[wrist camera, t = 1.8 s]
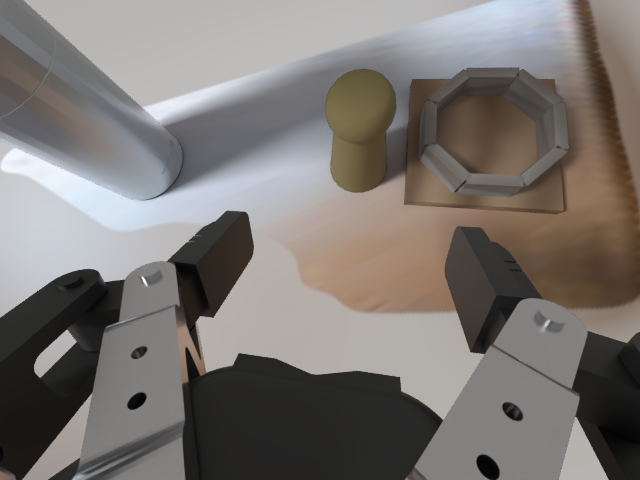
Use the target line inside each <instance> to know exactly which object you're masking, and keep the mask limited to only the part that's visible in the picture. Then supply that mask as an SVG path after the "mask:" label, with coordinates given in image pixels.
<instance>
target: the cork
mask: <svg viewBox="0 0 640 480" xmlns="http://www.w3.org/2000/svg"><path fill="white" fill-rule="evenodd" d="M395 111H396V96H395V92H394V89H393V87H392V85H391V84H390V82H389V81H388V80H387V79H386V78H385V77H384V76H383V75H382V74H380V73H378V72H376V71H373V70H368V69H358V70H353V71H351V72H348V73H346V74H344V75H343V76H341V77H340V78H339V79H338V80H337V81H336V82H335V84H334V85H333V86H332V87H331V89H330V91H329V93H328V96H327V99H326V118H327V121H328V123H329V126H330V128H331V129H332V131H333V132H334V133H333V144H332V154H331V174H332V177H333V179H334V181H335V182H336V183H337V185H338V186H340V187H341V188H343V189H344V190H347V191H350V192H354V193H355V192H365V191H368V190H371V189H373V188H374V187H376V186H377V185H379V183H380V182H381V181H382V179H383V178H384V176H385V173H386V170H387V164H386V130H387V129H388V128H389V126H390V125H391V123H392V121H393V118H394V115H395Z"/></svg>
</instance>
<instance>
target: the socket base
mask: <svg viewBox="0 0 640 480" xmlns="http://www.w3.org/2000/svg"><path fill="white" fill-rule="evenodd" d="M562 100H563V99H562V98H561V97H560V96H558V95H557V94H556V92H555V79H536V78H534V77H533V76H532V75H530V74H529V73H528V72H526V71H525V70H524V69H522V70H521V71H520V72H519V68H467V70H464V69H463V70H462V71H461V72H460V73H458V74H457V75H456V76H455V77H453V78H452V79H412V82H411V86H410V102H409V121H408V140H407V160H406V179H405V199H404V204H405V205H421V206H437V207H453V208H469V209H485V210H501V211H517V212H533V213H548V214H557V213H559V212H562V211H564V205H563V191H562V177H561V163H560V158H561V157H563V156H564V155H565V154H566V153H567V150H568V149H569V142H568V129H567V116H566V103H565V102H561V101H562Z"/></svg>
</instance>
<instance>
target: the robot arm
mask: <svg viewBox="0 0 640 480" xmlns="http://www.w3.org/2000/svg"><path fill="white" fill-rule="evenodd" d="M0 141H2V142H4V143H6V144H9V145H11V146H13V147H15V148H17V149H20V150H22V151H24V152H26V153H29V154H31V155H33V156H35V157H37V158H40V159H42V160H44V161H46V162H49V163H51V164H53V165H55V166H58V167H60V168H62V169H64V170H66V171H69V172H71V173H73V174H75V175H78V176H80V177H82V178H84V179H86V180H89V181H91V182H93V183H95V184H97V185H99V186H102V187H104V188H106V189H108V190H111V191H113V192H115V193H117V194H120V195H122V196H124V197H126V198H129V199H132V200H146V199H150V198H153V197H156V196H158V195H159V194H161V193H163V192H164V191H165V190H167V189H168V188H169V187H170V186H171V185H172V183H173V182H174V181H175V180H176V178H177V176H178V174H179V172H180V169H181V166H182V159H183V156H182V149H181V146H180V144H179V142H178V141H177V139H176V138H175V137H174V136H173V135H172V134H170V133H169V132H168V131H167V130H166V129H165V128H164V127H163V126H162V125H161V124H160V123H158V122H157V121H156V120H155V119H154V118H153V117H152V116H151V115H150V114H149V113H148V112H147V111H145V110H144V109H143V108H142V107H141V106H140V105H139V104H138V103H137V102H136V101H134V100H133V99H132V98H131V97H130V96H129V95H128V94H127V93H126V92H124V91H123V90H122V89H121V88H120V87H119V86H118V85H117V84H116V83H114V82H113V81H112V80H111V79H110V78H109V77H108V76H107V75H106V74H105V73H104V72H102V71H101V70H100V69H99V68H98V67H97V66H96V65H95V64H93V63H92V62H91V61H90V60H89V59H88V58H87V57H86V56H85V55H84V54H82V53H81V52H80V51H79V50H78V49H77V48H76V47H75V46H74V45H72V44H71V43H70V42H69V41H68V40H67V39H66V38H65V37H64V36H62V35H61V34H60V33H59V32H58V31H57V30H56V29H55V28H54V27H53V26H51V25H50V24H49V23H48V22H47V21H46V20H44V18H42V17H41V16H40V15H39V14H38V13H37V12H36V11H35V10H34V9H32V8H31V7H30V6H29V5H28V4H27V3H26V2H25V1H24V0H0ZM253 249H254V245H253V239H252V234H251V228H250V222H249V217H248V214H247V213H246V212H240V211H226V212H225V213H224V214H223V215H222V216H221V217H220V218H219V219H218V220H217V221H216V222H212V223H210V224H209V225H207V226H205V227H203V228H202V229H201V230H200V231H199V232H198V233H196V234H195V236H193V237H192V238H191V239H190V240H189V242H187V243H186V244H185V245H184V246H183V247H182V248H180V250H178V251H177V252H176V253H175V254H174V255H173V256H172V257H171V258H170V259H169V260H168V261H167V262H163V261H162V262H161V261H160V262H153V263H149V264H146V265H144V266H141V267H139V268H137V269H136V270H134V271H133V272H131V273H130V274H129V275H128V276H127V277H126V279H125V280H119V281H110V282H104V280H103V279H102V277H101V275H100V274H99V272H98V271H96V270H93V269H83V270H78V271H74V272H71V273H68V274H65V275H63V276H61V277H58V278H57V279H55V280H53V281H52V282H50V283H49V284H47V285H46V286H44V287H43V288H42V289H40V290H39V291H37V292H36V293H35V294H33V295H32V296H30V297H29V298H28V299H26V300H25V301H23V302H22V303H20V304H19V305H18V306H16V307H15V308H14V309H12V310H11V311H9V312H8V313H6V314H5V315H4V316H2V317H1V318H0V480H22V479H23V478H24V477H25V475H26V474H27V473H28V472H29V471H30V469H31V468H32V467H33V465H34V464H35V463H36V462H37V461H38V459H39V458H40V457H41V456H42V454H43V453H44V452H45V451H46V449H47V448H48V447H49V446H50V444H51V443H52V442H53V440H54V439H55V438H56V437H57V436H58V434H59V433H60V432H61V431H62V430H63V428H64V427H65V426H66V425H67V423H68V422H69V421H70V420H71V418H72V417H73V416H74V415H75V413H76V412H77V411H78V409H79V408H80V407H81V406H82V405H83V403H84V402H85V401H86V400H87V398H88V397H89V396H90V395H91V393H92V392H93V393H92V399H91V404H90V409H89V415H88V420H87V426H86V431H85V436H84V441H83V446H82V452H81V457H80V458H79V459H77V460H76V461H74V462H73V463H72V464H70V465H69V466H67V467H66V468H64V469H63V470H62V471H60V472H59V473H57V474H56V475H54V476H53V477H51V478H50V479H48V480H559V476H560V472H561V469H562V465H563V461H564V457H565V453H566V449H567V446H568V442H569V438H570V434H571V430H572V427H573V423H574V419H575V417H577V418H578V421H579V422H580V425H581V426H582V428H583V430H584V432H585V434H586V436H587V438H588V440H589V442H590V444H591V446H592V447H593V450H594V452H595V454H596V456H597V458H598V459H599V462H600V463H601V465H602V467H603V469H604V471H605V473H606V475H607V477H608V479H609V480H640V332H638V333H637V334H635V335H634V336H633V337H632V338H631V340H630V341H629V342H628V343H624V342H621V341H618V340H615V339H611V338H608V337H605V336H602V335H599V334H595V333H592V332H589V331H587V329H586V327H585V325H584V324H583V322H582V321H581V320H580V319H579V318H578V317H577V316H576V315H575V314H573V313H572V312H570V311H569V310H567V309H566V308H564V307H562V306H560V305H558V304H555V303H553V302H550V301H547V300H543V298H542V297H541V295H540V294H539V293H538V291H537V290H536V288H535V287H534V286H533V284H532V283H531V281H530V280H529V279H528V277H527V276H526V275H525V273H524V272H522V269H521V268H520V266H519V265H518V264H516V261H515V259H514V258H513V256H512V255H511V254H510V252H509V251H507V250H506V249H505V248H503V247H502V246H500V245H499V244H498V243H494V242H491V241H490V240H489V238H488V237H487V235H486V234H485V232H484V230H483V229H482V228H476V227H461V226H458V227H457V228H456V230H455V232H454V235H453V238H452V242H451V245H450V249H449V252H448V256H447V259H446V263H445V277H446V280H447V283H448V286H449V289H450V292H451V295H452V298H453V301H454V304H455V307H456V310H457V313H458V316H459V319H460V322H461V325H462V328H463V331H464V334H465V337H466V340H467V343H468V346H469V349H470V352H473V353H481V354H485V355H484V356H483V358H482V360H481V361H480V363H479V364H478V366H477V368H476V369H475V371H474V372H473V374H472V376H471V377H470V379H469V380H468V382H467V384H466V385H465V387H464V388H463V390H462V392H461V393H460V395H459V396H458V398H457V400H456V401H455V403H454V404H453V406H452V408H451V409H450V411H449V412H448V414H447V416H446V417H445V419H444V420H442V419H441V418H440V417H439V416H438V415H437V414H436V413H435V412H433V411H432V410H431V409H430V408H429V407H427V406H426V405H425V404H423V403H422V402H420V401H419V400H417V399H415V398H414V397H412V396H410V395H408V394H406V393H403V392H401V383H400V377H395V376H388V375H382V374H374V373H368V372H361V371H352V372H341V373H332V374H321V375H313V374H310V373H307V372H305V371H303V370H301V369H298V368H296V367H293V366H291V365H289V364H287V363H284V362H282V361H280V360H278V359H274V358H268V357H261V356H254V355H247V354H241V353H239V354H238V356H237V358H236V360H235V362H234V365H233V366H228V367H223V368H219V369H216V370H213V371H210V372H208V373H206V369H205V363H204V357H203V352H202V346H201V341H200V335H199V329H198V325H197V323H196V321H197V319H198V318H199V317H200V316H205V317H212V318H213V317H214V316H215V314H216V313H217V311H218V310H219V308H220V306H221V305H222V303H223V302H224V300H225V299H226V297H227V296H228V294H229V293H230V291H231V289H232V288H233V286H234V285H235V283H236V281H237V280H238V278H239V277H240V275H241V274H242V272H243V271H244V269H245V267H246V266H247V265H248V263H249V261H250V260H251V258H252V255H253ZM65 330H68V331H69V332H70V333H71V335H72V336H73V337H74V338H75V340H76V341H77V342H76V343H75V344H74V345H73V346H72V348H70V349H69V350H68V352H66V353H65V355H63V356H62V357H61V358H60V359H59V360H58V361H57V362H56V363H55V364H54V365H53V366H52V367H51V368H50V369H49V370H48V371H47V372H46V373H45V374H44V375H43V376H42V377H41V378H39V377H38V376H37V375H36V374H35V372H34V364H35V361H36V359H37V357H38V356H39V355H40V353H42V352H43V351H44V350H45V349H46V348H47V347H48V346H49V345H50V344H51V343H52V342H53V341H55V339H57V338H58V337H59V336H60V335H61V334H62V333H63V332H64V331H65Z"/></svg>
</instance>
